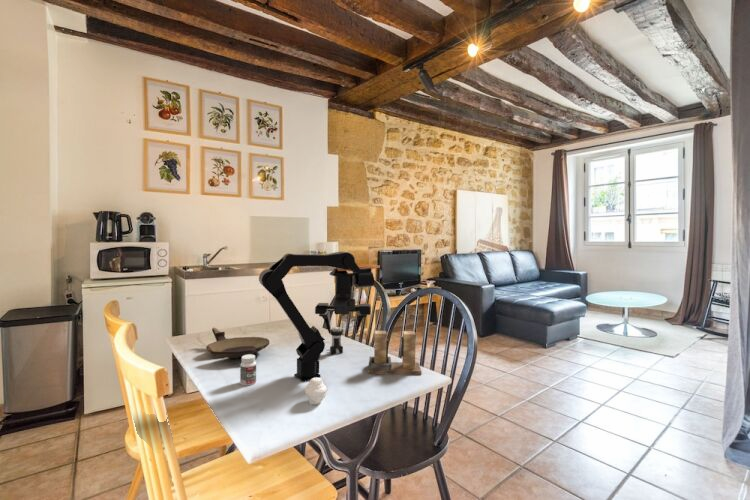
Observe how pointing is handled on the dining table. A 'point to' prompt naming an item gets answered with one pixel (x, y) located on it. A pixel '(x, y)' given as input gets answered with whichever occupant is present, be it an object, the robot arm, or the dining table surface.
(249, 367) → the pill bottle
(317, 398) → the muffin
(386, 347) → the oak finger
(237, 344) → the oil lamp
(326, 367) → the dining table surface
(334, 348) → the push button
